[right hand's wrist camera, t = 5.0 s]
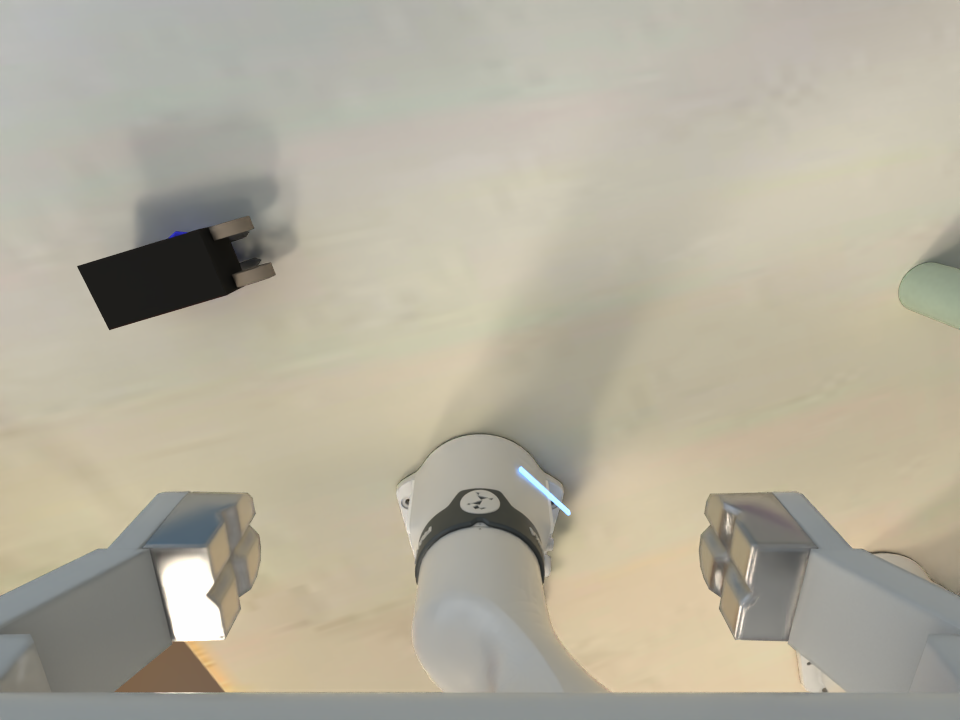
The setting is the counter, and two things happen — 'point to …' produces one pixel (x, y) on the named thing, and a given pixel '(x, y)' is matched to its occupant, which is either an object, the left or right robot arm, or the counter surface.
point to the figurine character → (172, 273)
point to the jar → (933, 292)
